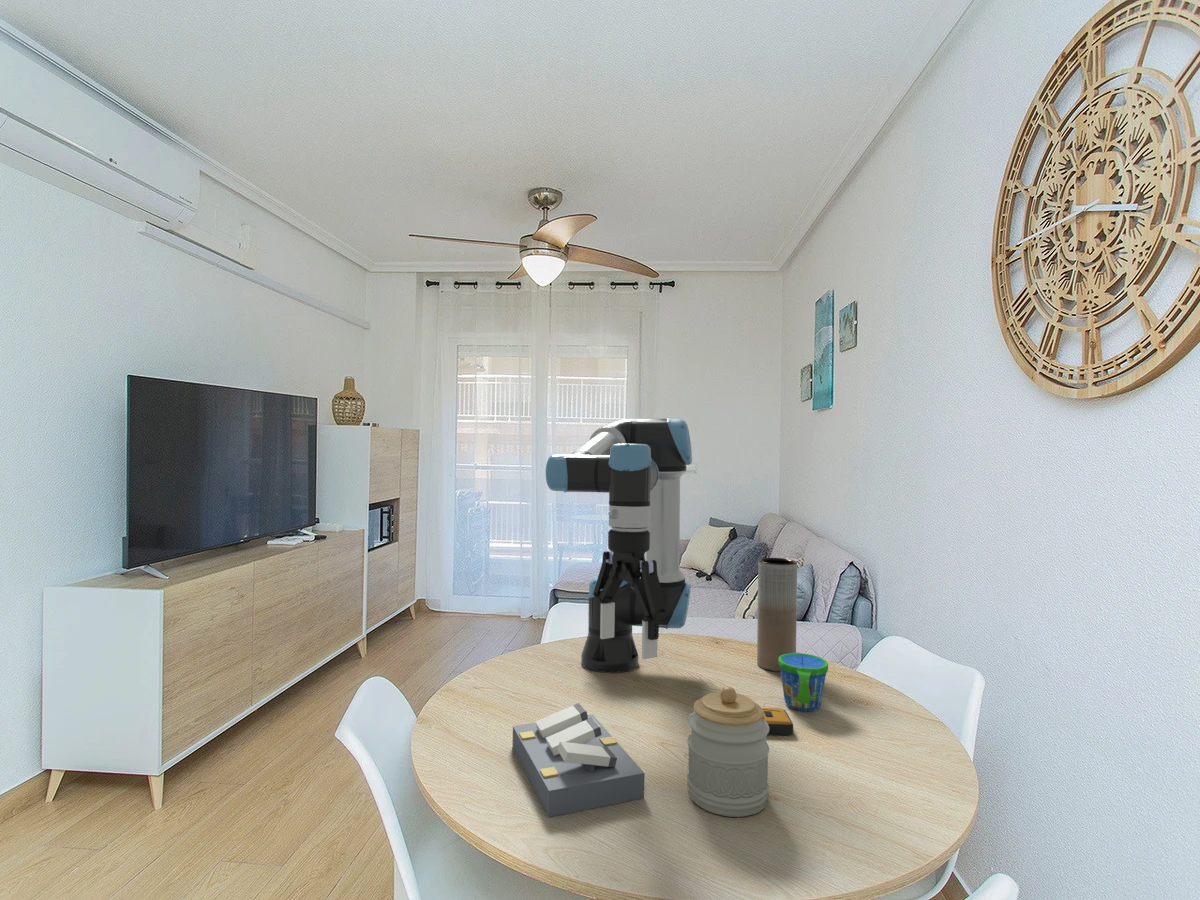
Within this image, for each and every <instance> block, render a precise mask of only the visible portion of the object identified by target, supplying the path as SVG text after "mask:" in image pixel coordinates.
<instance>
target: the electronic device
mask: <svg viewBox="0 0 1200 900" xmlns="http://www.w3.org/2000/svg"><path fill="white" fill-rule="evenodd" d="M761 708H762V709H763V711H764V716H763V719H764V720H765V721H766V722H767V723H768V725H769V733H768V734H767V736H778V737H792V736H793V735H794V724H793V721H792V719H791V718H790V716H789V715H788V713H787V711H786V710H785V709H783V708H773V707H761Z"/></svg>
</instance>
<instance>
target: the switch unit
mask: <svg viewBox="0 0 1200 900" xmlns="http://www.w3.org/2000/svg"><path fill="white" fill-rule="evenodd" d="M589 718H593V719H594V720H595V721H596V722H597V723H598V725H599V726H600V728H601V732H602V735H601V736H598V737H596V738H594V739H591V740H589V741H587V742H585V743H582V744H586V745H594V746H603V747H609V748H610V750H611V751H612V752H613V753H614V754H615V756H616V757H617V758H618V759H617V763H616V767H615V768H614V767H607V766H598V765H589V764H580V763H571V762H565V761H564V760H563V758H562V757H561V755H560V754H558V755H555V756H554V755H553V753H552V752H551V750H550V749H549V747H548V746H547V742H546V737H545V738H542V736H541V735H540V733H539V732H538V730H537V727H536V723H535V722H531V723H524V724H518V725H513V726H512V749H513V751H514V753H515V755H516V757H517V759H518V760H519V763H520V765H521V767H522V769H523V770H524V772H525V775H526V776H527V778H528V780H529V782H530V784H531V785H532V788H533V790H534V792H535V794H536V795H537V798H538V800H539V802H540V803H541V805H542V807H543V809H544V811H545V813H546V814H547V817H548V818H552V817H557V816H562V815H567V814H571V813H577V812H581V811H586V810H591V809H596V808H600V807H605V806H606V807H607V806H611V805H615V804H620V803H625V802H629V801H636V800H639V799H640V800H641V799H644V798H645V775H646V774H645V772H644V770H643V769H642V768H641V767H640V766H639V764H638V763H636V761H635V760H634V759H633V758H632V757H631V756H630V755H629V754H628V753H627V752H626V750H625V749H624V748H623V747H622V746H621V745H620V743H618V741H617V740H616V739H615V738H614V737H613V736H612V734H611V733H610V732H609V731H608V730H607V729H606V728H605V726H604V725H603V724H602V723H601V722H600V721H599V719H597V717H596V716H595V715H594V714H588V719H589ZM584 721H585V720H584ZM582 722H583V721H582ZM579 723H581V722H579ZM577 724H578V723H577ZM575 725H576V724H575ZM573 726H574V725H573ZM570 727H571V726H570ZM568 728H569V727H568ZM566 729H567V728H566ZM563 730H564V729H563ZM561 731H562V730H561ZM559 732H560V731H559ZM556 733H558V732H556ZM554 734H555V733H554ZM552 735H553V734H552ZM549 736H551V735H549ZM547 737H548V736H547Z"/></svg>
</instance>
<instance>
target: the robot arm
mask: <svg viewBox="0 0 1200 900" xmlns="http://www.w3.org/2000/svg"><path fill="white" fill-rule="evenodd" d="M690 436H691V435H690V431H689V426H688V424H687V422H686V421H685V420H683V419H680V418H669V417H666V418H623V419H619V420H616V421H612V422H610V423H607V424H605V425H603V426H601V427H599V428H597V429H596V430H595V431H594V432H593V433H592V434H591V435H590V438H589V440H588V441H587V442H585V443H583V445H581V446H580V447H578V448H577V449H576V450H574V451H573V452H571V453H569V454H567V453H559V454H552V455H550V456H549V457H548V459H547V461H546V465H545V482H546V486H547V487H548V489H549V490H551V491H555V492H563V493H603V494H605V493H607V494H608V505H609V506H608V514H607V515H608V526H609V527H610V528H611V529H609V531H607V549H608V551H603V553H602V562H601V566H600V569H599V574H598V576H596V577H594V578H592V579H591V580H590V582H589V589H588V595H587V598H588V628H587V629H588V631H587V636H586V639H585V642H584V645H583V649H582V652H581V655H580V656H581V658H580V659H581V662H580V663H581V666H583V667H584V668H585V669H588V670H590V671H594V672H599V673H610V674H611V673H613V674H614V673H623V672H624V673H625V672H628V671H631V670H634V669H636V668H637V667H638V666H639V658H640V657H639V652H638V649H637V645H636V643H635V640H634V636H633V626H634V627H642V628H641V631H642V632H641V635H642V636H641V659H642V660H649V659H654V658H657V657H658V640H659V637H660V635H659V633H660V632H659V631H660V629H659V628H661V629H666V630H668V629H681V628H683V627H684V626H685V625H686V621H687V618H688V617H687V616H688V611H689V604H690V598H691V587H692V585H691V583H688V582H686V575H685V574H684V572H682V571H681V569H680V558H681V557H680V556H681V555H680V547H681V546H680V543H681V541H680V539H681V535H680V534H681V531H680V528H681V524H680V523H681V509H680V508H681V477H682V476H683V475H684V474H685V473H686V472H687V466H689V465H691V464H692V463H693V457H692V455H693V454H692V442H691V437H690ZM645 554H646V555H645ZM645 557H646V558H645Z"/></svg>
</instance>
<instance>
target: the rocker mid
mask: <svg viewBox="0 0 1200 900" xmlns="http://www.w3.org/2000/svg"><path fill="white" fill-rule="evenodd" d="M601 735H602V732H601V728H600V726H599V725H598V723H597V722H596V721H595V720H594V719H593V718H589V719H587V720H585V721H583V722H581V723H578V724H576V725H574V726H571V727H569V728H567V729H564V730H562V731H560V732H558V733H555V734H553V735H551V736H548V737H546V742H547V746H548V747H549V749H550V750H551V752H552V753H553V755H554V756H555V755H558V754H559V752H558V751H557V750H558V746H559V742H560V741H561V742H569V743H577V744H582V743H585V742H587V741H589V740H591V739H594V738H596V737H598V736H601Z"/></svg>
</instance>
